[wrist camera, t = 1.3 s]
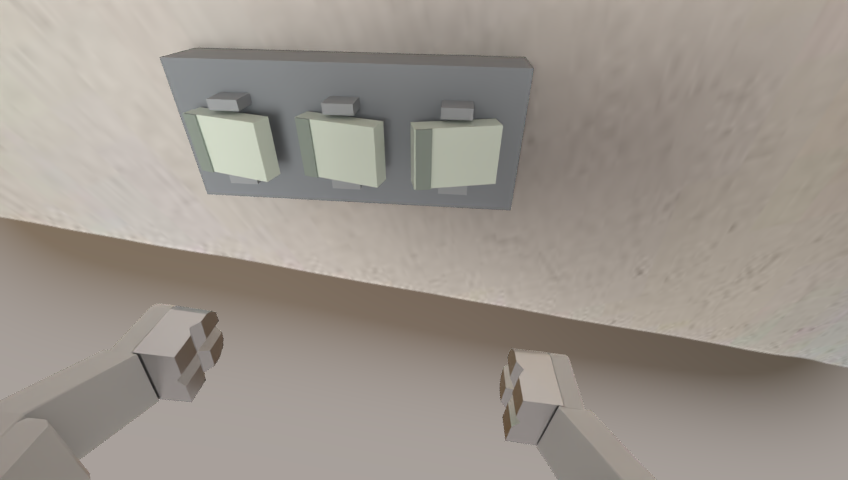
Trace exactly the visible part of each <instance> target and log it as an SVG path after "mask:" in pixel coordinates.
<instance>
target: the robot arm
mask: <svg viewBox="0 0 848 480" xmlns="http://www.w3.org/2000/svg"><path fill="white" fill-rule="evenodd" d="M218 321H219V320H218V317H217V314H216V312H213V311H207V310H201V309H195V308H188V307H181V306H174V305H167V304H160V303H157V304H155V305H153V306H151V307H150V308H149V309H148V310H147V311H146V312H145V313H144V314H143V315H142V316H141V317H140V319H139V320H138V321H137V322H136V323H135V324H134V325H133V326H132V327H131V328H130V329H129V330H128V331H127V332H126V333H125V335H124V336H123V337H122V338H121V339H120V340H119V341H118V342H117V343H116V344H115V345H114V346H113V347H112V348H111V350H102V351H100V352H98V353H96V354H94V355H92V356H90V357H88V358H86V359H84V360H82V361H80V362H78V363H76V364H74V365H72V366H70V367H67V368H66V369H63V370H61V371H59V372H57V373H55V374H53V375H51V376H49V377H47V378H45V379H43V380H41V381H39V382H37V383H35V384H32V385H30V386H28V387H26V388H24V389H22V390H20V391H18V392H16V393H14V394H12V395H10V396H8V397H6V398H4V399H2V400H0V480H90V473H89V472H88V470H87V469H86V468H85V467H84V465H83V464H82V463H81V462H80V459H81V458H83V457H84V456H85V455H87V454H88V453H89V452H91V451H92V450H93V449H95V448H96V447H97V446H99V445H100V444H102V443H103V442H104V441H106V440H107V439H108V438H110V437H111V436H112V435H114V434H115V433H116V432H118V431H119V430H120V429H122V428H123V427H124V426H126V425H127V424H129V423H130V422H131V421H133V420H134V419H135V418H137V417H138V416H139V415H141V414H142V413H143V412H145V411H146V410H147V409H149V408H150V407H151V406H153V405H154V404H156V403H157V402H158V401H159V399H164V400H174V401H185V402H192V401H193V400H194V398H195V396H196V395H197V393H198V391H199V390H200V389H201V387H202V385H203V383H204V382H205V381H206V379H205V373H204V372H206V371H207V370H209V369H210V368H212V367H214V366H215V364H216V363H217V361H218V359H219V357H220V355H221V352H222V349H223V339H224V338H223V334H222V332H221V331H220V330H219V329H218V328H217V327H216V324H217V323H218ZM507 359H508V365H506V366H505V367H503V370H502V373H501V378H500V400H501V402H502V403H503V405H504V406H505V407H506V409H505V412H504V414H503V417H502V418H503V425H504V433H505V440H506V441H511V442H517V443H525V444H532V445H537V449H538V450H539V452H540V453H541V455H542V456H543V458H544V459H545V461H546V462H547V464H548V466H549V467H550V469H551V470H552V472H553V473H554V475H555V476H556V478H557V479H558V480H656V479H655V477H654V476H653V475H652V474H651V473H650V472H649V471H648V470H647V469H646V468H645V467H644V466H643V465H642V464H641V463H640V462H639V461H638V460H637V458H635V456H634V455H633V454H632V453H631V452H630V451H629V450H628V449H627V448H626V447H625V446H624V445H623V444H622V443H621V442H620V440H618V438H616V436H615V435H614V434H613V433H612V432H611V431H610V430H609V429H608V428H607V427H606V426H605V425H604V424H603V423H602V422H601V421H600V419H599V418H597V416H596V415H595V414H594V413H593V412H592V411H591V410H585V407H584V404H583V401H582V398H581V394H580V391H579V388H578V385H577V382H576V379H575V376H574V372H573V370H572V366H571V363H570V360H569V358H568V357H567V355H561V354H554V353H546V352H539V351H530V350H521V349H511V350H510V351H509V354H508V357H507Z"/></svg>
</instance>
